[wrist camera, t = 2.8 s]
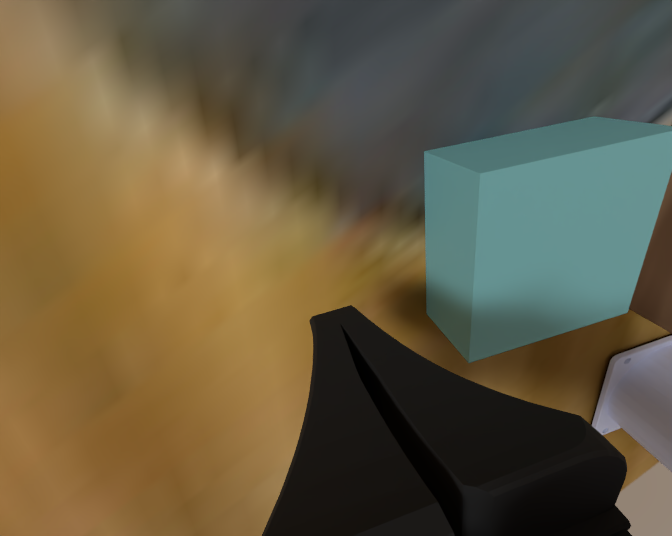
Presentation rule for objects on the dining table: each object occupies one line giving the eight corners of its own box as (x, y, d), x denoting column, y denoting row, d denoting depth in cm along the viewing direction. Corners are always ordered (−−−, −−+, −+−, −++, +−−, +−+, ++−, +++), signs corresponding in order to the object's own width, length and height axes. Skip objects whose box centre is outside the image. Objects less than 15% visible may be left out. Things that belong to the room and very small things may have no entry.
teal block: (588, 115, 17) (685, 127, 13) (559, 272, 20) (627, 312, 17) (421, 150, 15) (480, 173, 12) (424, 310, 19) (468, 363, 16)
